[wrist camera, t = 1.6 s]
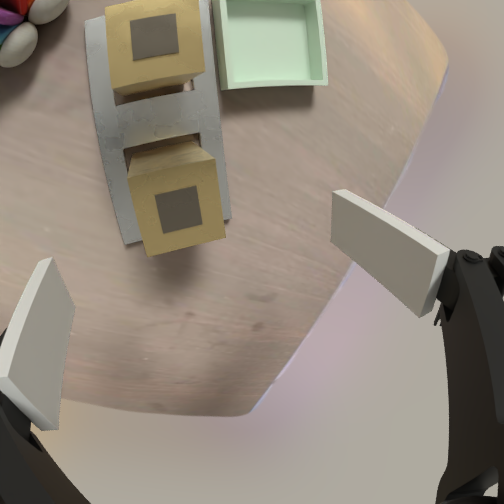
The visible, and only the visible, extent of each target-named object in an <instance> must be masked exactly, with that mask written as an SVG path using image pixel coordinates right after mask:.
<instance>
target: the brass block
mask: <svg viewBox="0 0 504 504" xmlns="http://www.w3.org/2000/svg"><path fill="white" fill-rule="evenodd" d="M127 181H128V185H129V189H130V194H131V198H132V202H133V206H134V210H135V214H136V218H137V222H138V226H139V229H140V233H141V237H142V240H143V244H144V247H145V251H146V254H147V257H151V256H154V255H158V254H162V253H166V252H170V251H174V250H178V249H182V248H186V247H190V246H194V245H198V244H202V243H206V242H210V241H214V240H218V239H222V238H226V234H225V227H224V220H223V212H222V205H221V198H220V190H219V183H218V175H217V167H216V159H215V158H214V157H213V156H211V155H210V154H208V153H207V152H206V151H204V150H203V149H202V148H200V147H199V146H197V145H196V144H195V143H193V142H192V141H188V142H183V143H178V144H173V145H168V146H163V147H159V148H154V149H150V150H146V151H142V152H137V153H133V155H132V159H131V163H130V167H129V171H128V176H127Z"/></svg>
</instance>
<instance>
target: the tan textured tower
mask: <svg viewBox="0 0 504 504" xmlns="http://www.w3.org/2000/svg"><path fill="white" fill-rule="evenodd" d="M105 22H106V39H107V51H108V62H109V72H110V80H111V88H112V90H114V91H116V92H117V93H119V94H121V95H122V96H126V95H131V94H135V93H140V92H144V91H149V90H154V89H159V88H164V87H170V86H176V85H182V84H185V83H187V82H188V81H190V80H192V79H193V78H195V77H197V76H199V75H200V74H202V73H204V72H206V71H205V61H204V52H203V42H202V31H201V20H200V9H199V0H136V1H131V2H126V3H121V4H117V5H112V6H108V7H105Z"/></svg>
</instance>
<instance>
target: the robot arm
mask: <svg viewBox="0 0 504 504" xmlns="http://www.w3.org/2000/svg"><path fill="white" fill-rule="evenodd" d="M331 242H332V243H333V244H334V245H335V246H337V247H338V248H339V249H340V250H341V251H343V252H344V253H345V254H346V255H348V256H349V257H350V258H351V259H352V260H354V261H355V262H356V263H357V264H358V265H359V266H361V267H362V268H363V269H364V270H365V271H367V272H368V273H369V274H370V275H371V276H372V277H374V278H375V279H376V280H377V281H378V282H379V283H381V284H382V285H383V286H384V287H385V288H386V289H388V290H389V291H390V292H391V293H392V294H393V295H394V296H395V297H397V298H398V299H399V300H400V301H401V302H402V303H403V304H404V305H405V306H407V307H408V308H409V309H410V310H411V311H412V312H414V314H415V315H417V316H418V317H419V318H420V317H422V316H424V315H426V314H427V313H429V312H431V311H432V309H433V306H434V303H435V300H436V298H437V299H438V300H439V301H440V302H441V305H440V308H439V310H438V313H437V315H436V318H435V321H434V326H436V324H437V322H438V320H439V319H441V323H440V326H442V332H443V339H444V347H445V355H446V366H447V378H448V395H449V450H448V463H447V467H446V470H445V472H444V474H443V476H442V478H441V480H440V483H439V486H438V490H437V497H436V503H435V504H504V301H503V296H504V247H503V246H495V247H493V248H492V250H491V254H490V257H489V258H483V257H482V256H481V255H479V254H478V253H475V252H474V251H469V250H460V251H458V252H457V253H456V252H454V251H453V250H451V249H449V248H448V247H446V246H445V245H443V244H442V243H440V242H438V241H437V240H435V239H433V238H432V237H430V236H429V235H426V234H425V233H424V232H422V231H421V230H419V229H417V228H415V227H413V226H411V225H409V224H408V223H406V222H404V221H403V220H401V219H399V218H397V217H396V216H394V215H392V214H390V213H389V212H387V211H385V210H383V209H381V208H380V207H378V206H376V205H374V204H372V203H370V202H369V201H367V200H365V199H363V198H361V197H359V196H357V195H355V194H353V193H351V192H349V191H348V190H346V189H343V190H337V191H332V221H331ZM75 308H76V307H75V305H74V303H73V301H72V299H71V297H70V295H69V292H68V290H67V288H66V286H65V284H64V282H63V279H62V277H61V275H60V273H59V270H58V268H57V266H56V263H55V261H54V259H53V257H51V258H48V259H44V260H41V261H39V262H38V264H37V266H36V268H35V270H34V272H33V274H32V276H31V277H30V279H29V281H28V283H27V286H26V288H25V290H24V292H23V294H22V296H21V298H20V300H19V302H18V305H17V307H16V309H15V311H14V314H13V316H12V319H11V321H10V323H9V326H8V328H6V329H5V331H4V332H3V333H2V335H1V336H0V504H91V503H90V502H89V501H88V500H87V499H86V498H85V497H84V496H83V495H82V494H81V493H80V492H79V490H78V489H77V488H76V487H75V486H74V485H73V484H72V482H71V481H70V480H69V479H68V478H67V477H66V476H65V474H64V473H63V472H62V471H61V469H60V468H59V467H58V465H57V464H56V463H55V462H54V460H53V459H52V458H51V456H50V455H49V454H48V452H47V451H46V449H45V448H44V447H43V445H42V444H41V443H40V441H39V440H38V438H37V437H36V435H35V434H33V432H31V431H30V427H31V422H32V423H33V424H34V425H35V426H37V427H38V428H39V429H40V430H41V431H45V430H58V429H59V413H60V401H61V391H62V382H63V374H64V367H65V360H66V354H67V348H68V342H69V337H70V331H71V326H72V321H73V317H74V312H75ZM496 483H498V496H497V497H490V496H483V495H484V493H485V491H486V490H487V489H488V488H489V487H491V486H493V485H494V484H496Z"/></svg>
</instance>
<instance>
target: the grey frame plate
mask: <svg viewBox="0 0 504 504" xmlns="http://www.w3.org/2000/svg"><path fill="white" fill-rule="evenodd" d="M199 9H200V20H201V31H202V42H203V52H204V61H205V71H206V72H204V73H202V74H200V75H199V76H197V77H195V78H193V79H192V85H193V91H186V92H180V93H174V94H169V95H163V96H158V97H153V98H148V99H144V100H139V101H135V102H130V103H126V104H122V105H118V106H116V102H115V95H114V90H112V88H111V80H110V72H109V62H108V51H107V39H106V22H105V16H101V17H97V18H94V19H90V20H87V21H85V39H86V53H87V64H88V74H89V83H90V91H91V98H92V105H93V111H94V118H95V124H96V129H97V135H98V140H99V145H100V150H101V155H102V160H103V164H104V169H105V173H106V178H107V182H108V186H109V190H110V194H111V198H112V202H113V206H114V209H115V213H116V217H117V220H118V224H119V227H120V231H121V234H122V237H123V241H124V244H125V245H126V244H129V243H133V242H137V241H141V240H142V237H141V233H140V229H139V226H138V222H137V218H136V214H135V210H134V206H133V202H132V198H131V194H130V189H129V185H128V181H127V176H128V169H127V165H126V160H125V155H124V150H123V149H125V148H129V147H133V146H137V145H141V144H145V143H149V142H154V141H158V140H163V139H168V138H172V137H177V136H182V135H188V134H193V133H198V134H199V141H200V148H202V149H203V150H204V151H206V152H207V153H208V154H210V155H211V156H213V157H214V158H215V159H216V167H217V175H218V183H219V190H220V198H221V205H222V212H223V220H226V219H231V218H232V215H231V207H230V199H229V190H228V182H227V174H226V165H225V157H224V148H223V140H222V131H221V122H220V113H219V104H218V95H217V85H216V76H215V66H214V56H213V46H212V36H211V26H210V15H209V4H208V0H199Z"/></svg>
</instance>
